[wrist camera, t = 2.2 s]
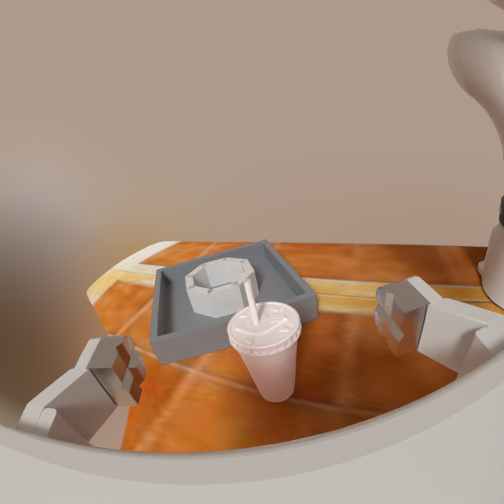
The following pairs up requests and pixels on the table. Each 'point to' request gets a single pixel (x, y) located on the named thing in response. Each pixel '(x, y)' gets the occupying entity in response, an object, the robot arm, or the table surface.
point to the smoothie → (267, 344)
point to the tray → (219, 298)
